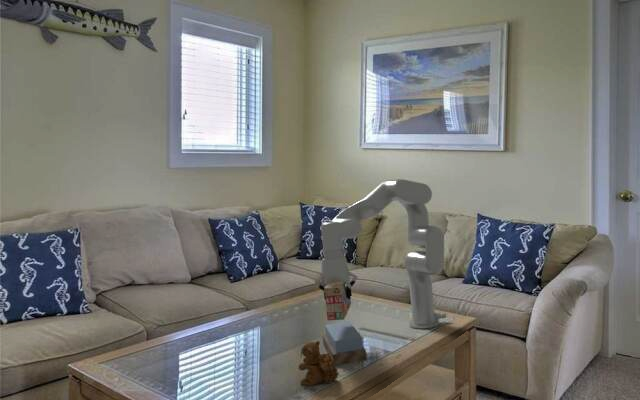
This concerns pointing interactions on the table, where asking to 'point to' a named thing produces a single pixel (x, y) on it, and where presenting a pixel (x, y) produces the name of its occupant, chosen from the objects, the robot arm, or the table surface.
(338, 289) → the stack of blocks
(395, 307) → the table surface
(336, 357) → the walnut tower block
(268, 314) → the table surface
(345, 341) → the slate-blue tower block
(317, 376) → the stuffed squirrel
